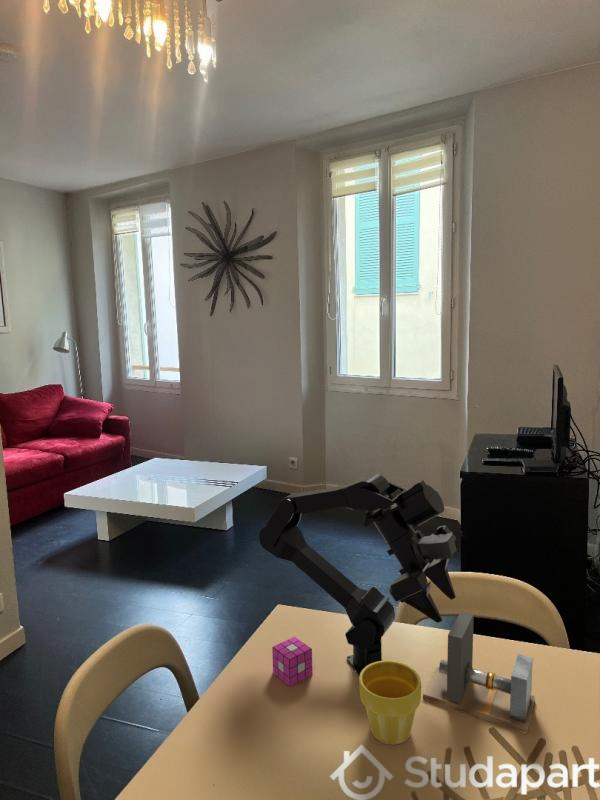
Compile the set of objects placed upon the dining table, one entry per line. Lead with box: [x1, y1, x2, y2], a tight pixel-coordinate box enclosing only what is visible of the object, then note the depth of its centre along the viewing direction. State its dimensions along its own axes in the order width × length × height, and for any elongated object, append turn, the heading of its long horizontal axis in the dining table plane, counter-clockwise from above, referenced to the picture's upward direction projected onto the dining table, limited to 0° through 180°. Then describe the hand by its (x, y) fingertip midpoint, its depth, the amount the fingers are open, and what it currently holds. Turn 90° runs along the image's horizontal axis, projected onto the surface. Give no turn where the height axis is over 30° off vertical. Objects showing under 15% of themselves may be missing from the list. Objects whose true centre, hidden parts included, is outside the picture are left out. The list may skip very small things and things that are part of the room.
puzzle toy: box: [271, 636, 313, 688], centre depth 110 cm, size 6×6×6 cm
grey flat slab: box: [446, 611, 475, 703], centre depth 102 cm, size 2×9×12 cm, turn 150°
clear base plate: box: [422, 666, 536, 734], centre depth 101 cm, size 18×9×1 cm, turn 60°
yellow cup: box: [358, 660, 422, 746], centre depth 94 cm, size 10×10×10 cm
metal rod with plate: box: [438, 653, 534, 723], centre depth 100 cm, size 16×7×8 cm, turn 60°
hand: (447, 609), depth 102 cm, fingers open, 9 cm apart
